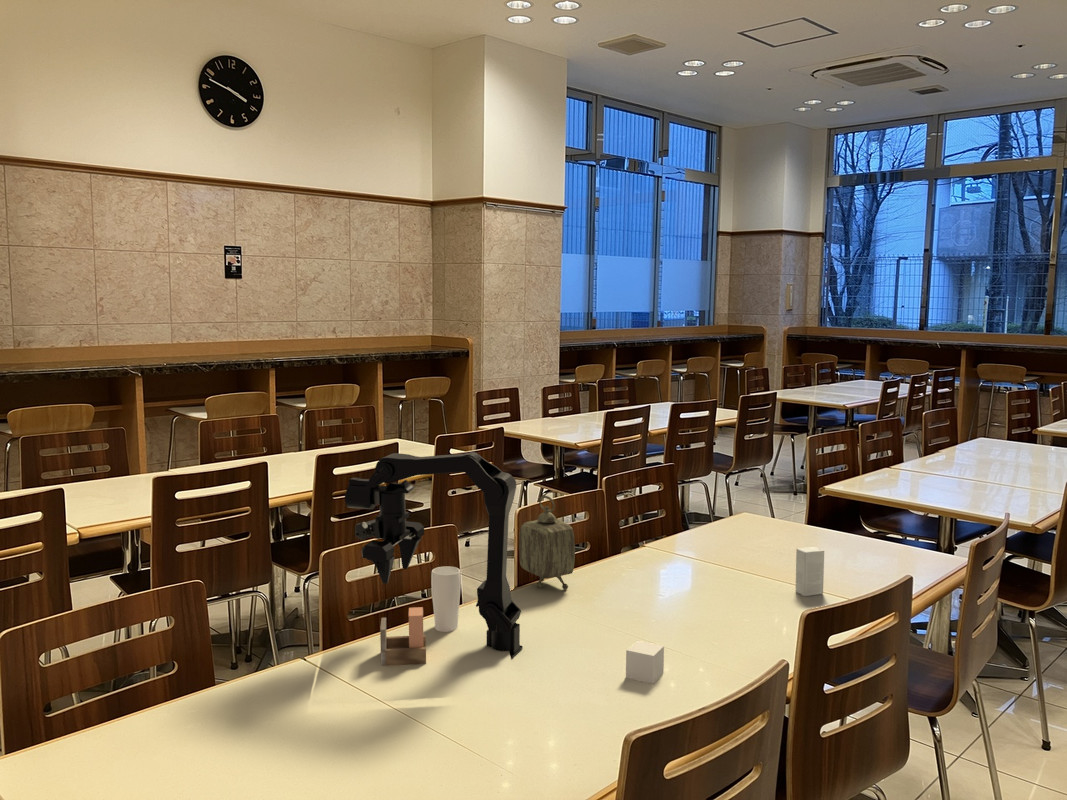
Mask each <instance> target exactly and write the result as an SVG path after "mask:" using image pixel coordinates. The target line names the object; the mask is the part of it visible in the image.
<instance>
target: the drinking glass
mask: <svg viewBox="0 0 1067 800" xmlns="http://www.w3.org/2000/svg"><path fill="white" fill-rule="evenodd" d="M430 575H431V578H430V579H431V585H430V586H431V596H432V597H431V598H432V607H433V615H434V616H433V618H434V629H435V630H436V631H437V632H441V633H442V632H444V633H450V632H454V631H456V630H457V629H458V627H459V612H460V611H459V610H460V598H461V586H462V584H461V582H462V581H461V580H462V578H461V570H460V568H458V567H456V566H450V565H449V566H448V565H447V566H438V567H435V568H433V569H432V570H431V574H430Z"/></svg>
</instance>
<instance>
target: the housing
mask: <svg viewBox="0 0 1067 800" xmlns="http://www.w3.org/2000/svg"><path fill="white" fill-rule="evenodd" d="M380 620H381V621H380V630H379V631H380V632H379V633H380V634H379V635H380V639H379V641H380V666H385V667H389V666H390V667H391V666H393V667H394V666H406V665H409V666H411V665H423V664H424V665H427V645H426V640H427V639H426V634H423V647H417V648H409V635H397V636H387V617H381V619H380Z"/></svg>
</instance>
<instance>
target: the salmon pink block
mask: <svg viewBox="0 0 1067 800" xmlns="http://www.w3.org/2000/svg"><path fill="white" fill-rule="evenodd" d="M423 635H424V607H423V606H422V607H421V606H420V607H419V606H418V607H417V606H415V607H408V636H409V648H417V647H423Z"/></svg>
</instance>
